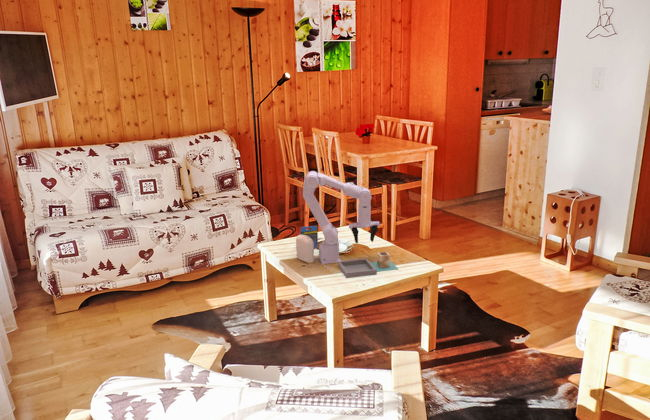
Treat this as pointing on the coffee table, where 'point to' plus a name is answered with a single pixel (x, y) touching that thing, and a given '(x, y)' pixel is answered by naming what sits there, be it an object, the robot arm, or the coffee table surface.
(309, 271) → the coffee table surface
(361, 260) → the parts bin
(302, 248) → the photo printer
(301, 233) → the label tape cartridge
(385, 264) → the maple block
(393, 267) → the teal board
